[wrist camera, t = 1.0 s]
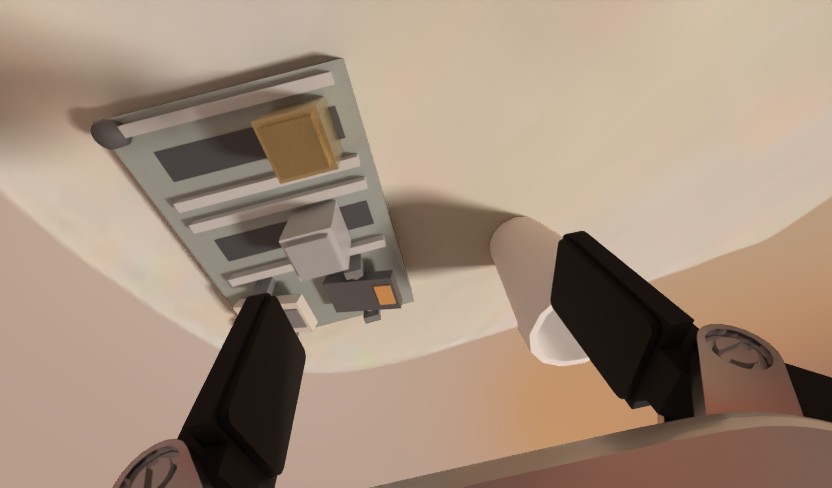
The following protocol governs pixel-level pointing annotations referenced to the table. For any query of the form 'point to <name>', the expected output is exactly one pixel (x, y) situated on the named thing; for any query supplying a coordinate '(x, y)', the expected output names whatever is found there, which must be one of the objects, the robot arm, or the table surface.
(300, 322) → the rocker ivory
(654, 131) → the table surface
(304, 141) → the slider brass
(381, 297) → the rocker black
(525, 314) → the foam cup
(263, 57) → the table surface
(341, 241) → the slider grey
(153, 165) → the panel
